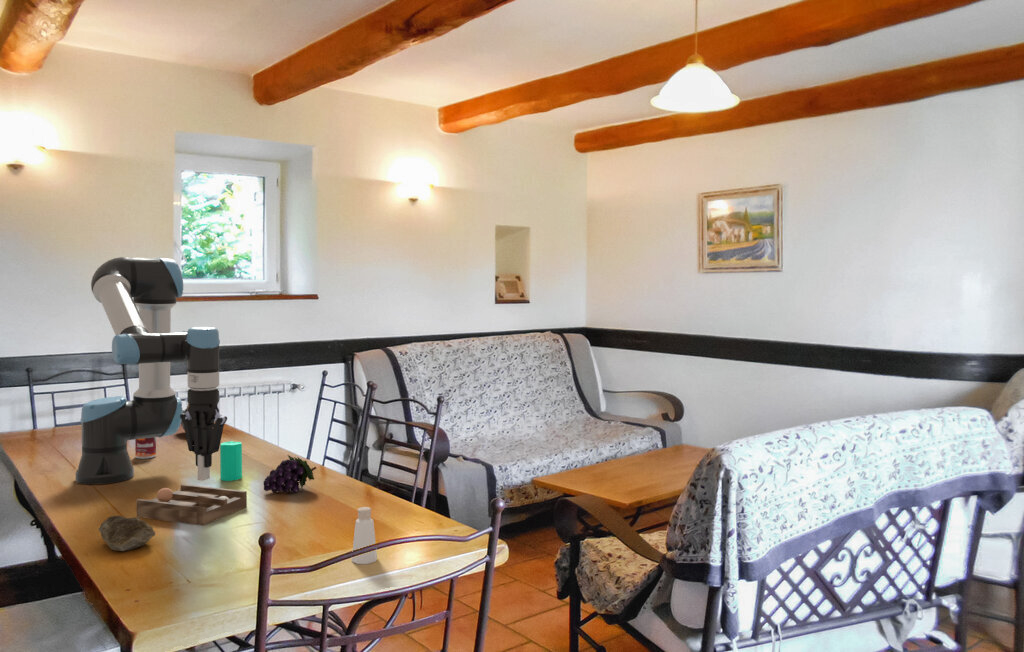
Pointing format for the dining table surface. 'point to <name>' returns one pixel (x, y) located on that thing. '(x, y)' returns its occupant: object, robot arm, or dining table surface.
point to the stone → (125, 532)
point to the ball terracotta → (164, 495)
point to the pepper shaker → (364, 536)
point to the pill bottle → (145, 448)
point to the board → (194, 505)
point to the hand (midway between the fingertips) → (203, 479)
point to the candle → (230, 461)
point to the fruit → (289, 476)
